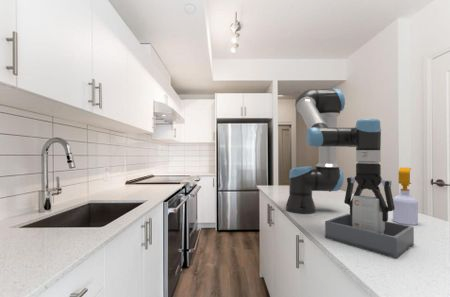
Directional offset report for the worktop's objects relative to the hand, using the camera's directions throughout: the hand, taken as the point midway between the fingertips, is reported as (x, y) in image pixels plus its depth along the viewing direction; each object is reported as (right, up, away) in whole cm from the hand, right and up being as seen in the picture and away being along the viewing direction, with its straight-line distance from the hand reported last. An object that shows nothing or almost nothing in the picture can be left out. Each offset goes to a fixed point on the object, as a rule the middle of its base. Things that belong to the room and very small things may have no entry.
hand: (367, 227), depth 86 cm
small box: (0, -3, 0) cm, 3 cm away
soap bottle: (+31, -6, +24) cm, 39 cm away
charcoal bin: (0, -5, 0) cm, 5 cm away
